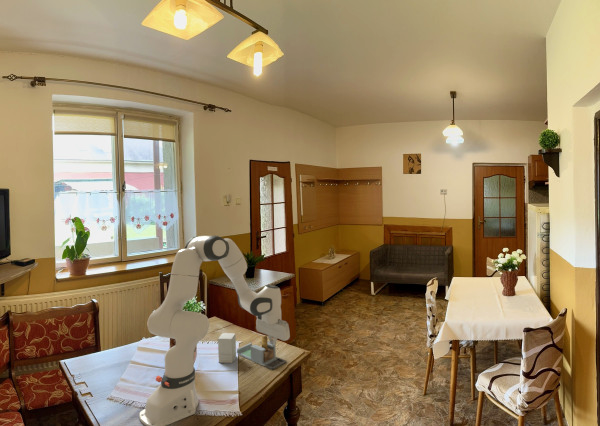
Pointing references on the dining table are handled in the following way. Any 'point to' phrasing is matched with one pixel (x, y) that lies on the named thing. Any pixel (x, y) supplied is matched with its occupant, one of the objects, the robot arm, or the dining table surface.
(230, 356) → the supplement box
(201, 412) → the dining table surface
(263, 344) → the tan tall piece
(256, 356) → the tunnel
